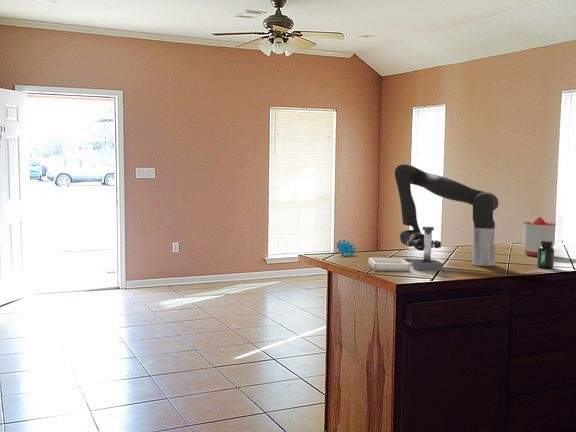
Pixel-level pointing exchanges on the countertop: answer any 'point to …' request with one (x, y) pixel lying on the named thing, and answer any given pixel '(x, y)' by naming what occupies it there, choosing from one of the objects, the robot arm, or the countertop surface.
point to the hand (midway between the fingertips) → (427, 245)
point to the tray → (388, 264)
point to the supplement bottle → (545, 255)
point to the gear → (346, 248)
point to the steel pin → (427, 243)
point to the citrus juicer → (537, 235)
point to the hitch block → (427, 265)
